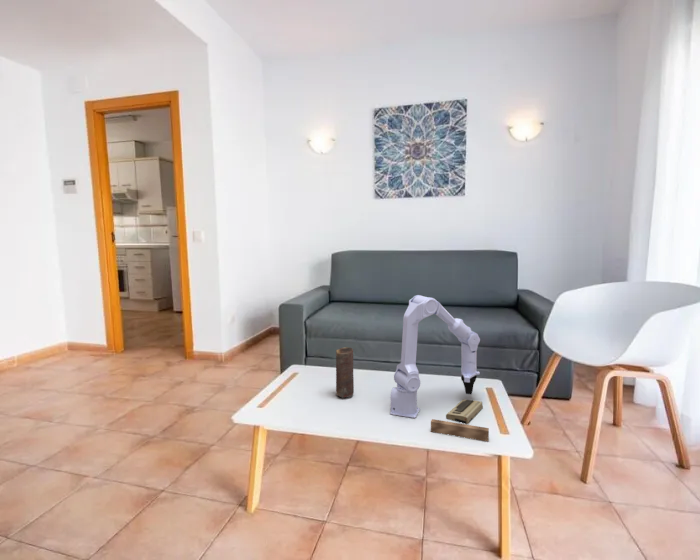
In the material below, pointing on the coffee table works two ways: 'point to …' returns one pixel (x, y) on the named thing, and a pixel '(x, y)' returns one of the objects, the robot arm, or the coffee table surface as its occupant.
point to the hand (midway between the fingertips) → (468, 393)
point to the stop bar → (460, 430)
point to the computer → (465, 411)
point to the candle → (344, 372)
